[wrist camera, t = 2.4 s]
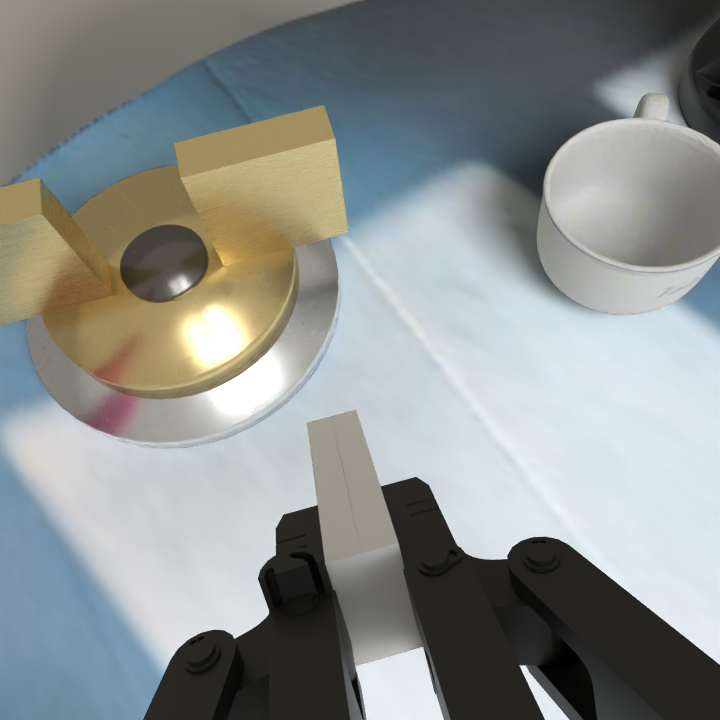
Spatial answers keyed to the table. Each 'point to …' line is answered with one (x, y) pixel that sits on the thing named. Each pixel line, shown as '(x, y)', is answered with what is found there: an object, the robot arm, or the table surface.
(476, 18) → the table surface
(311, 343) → the silver round plate
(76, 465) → the table surface
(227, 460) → the table surface
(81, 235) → the gold twin-plate stand
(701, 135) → the teacup
